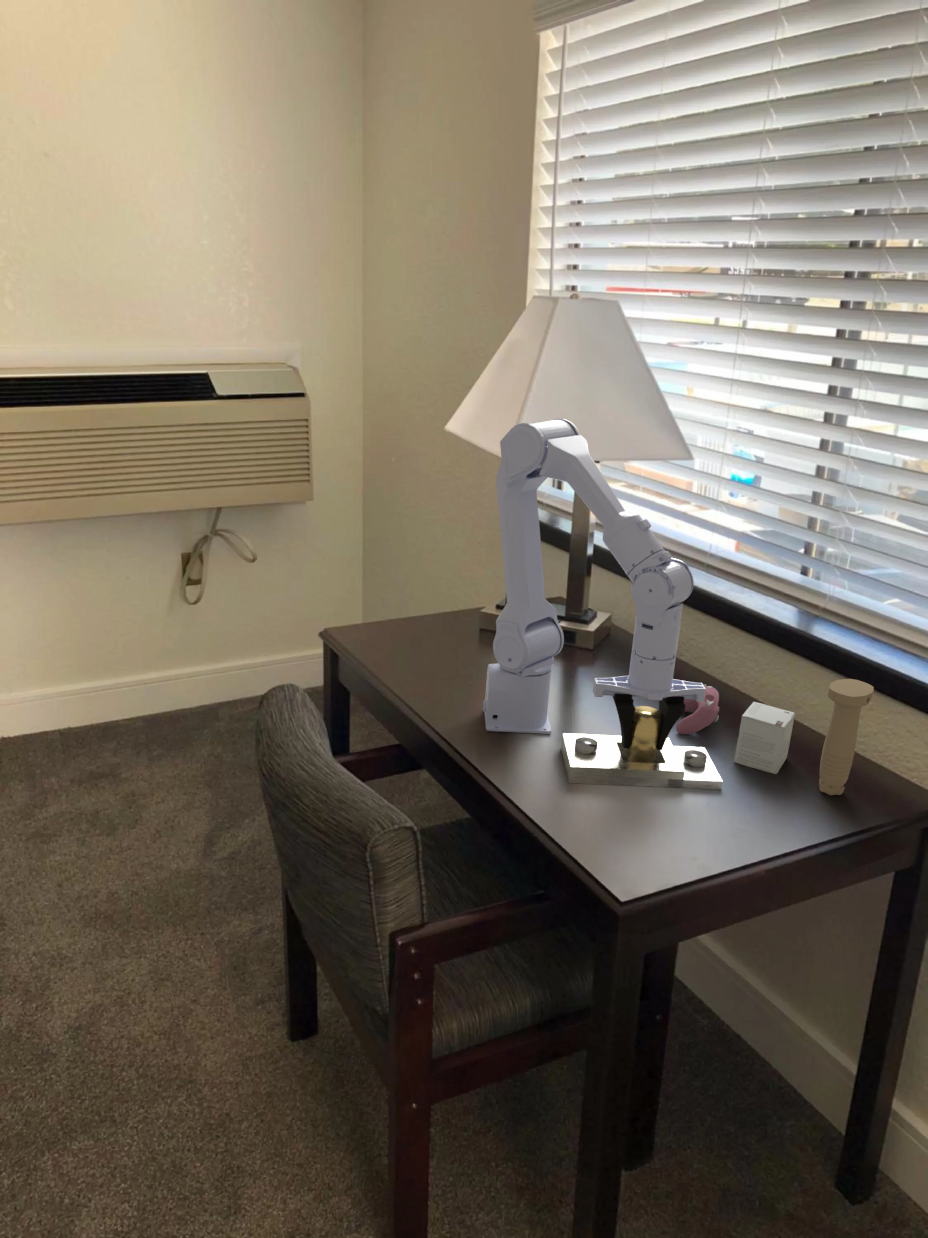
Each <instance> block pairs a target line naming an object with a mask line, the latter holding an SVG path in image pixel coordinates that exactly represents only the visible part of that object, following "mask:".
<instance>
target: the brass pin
mask: <svg viewBox="0 0 928 1238" xmlns="http://www.w3.org/2000/svg"><path fill="white" fill-rule="evenodd" d="M634 707H635V713H634V716H633V721H632V726H631V737H630V746H629V749H627V748H626V756H625V758H624V759H625V760H626V762H640V763H656V759H655V758H656V751H657V744H658V737H659V730H660V723H661V716H662V713H661V712H660V711H659V709H658V708H654V707H652V706H647V705H637V706H634Z"/></svg>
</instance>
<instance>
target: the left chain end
mask: <svg viewBox="0 0 928 1238" xmlns="http://www.w3.org/2000/svg"><path fill="white" fill-rule="evenodd" d="M561 734H562V735H561V745H560V750H561V754H562V758H563V759H562V760H563V762H564V763H563V764H564V767H565V772H566V775H567V780H568V783H569V784H582V785H583V784H585V785H586V784H589V785H609V776H610V777H633V778H656V779H679V780H684V774H685V771H684V769H683V767H682V764H681V762H680V760H679V758H678V756H677V754H676V752H675V750H674V747H673V746H674V745H673V744H672V741H671V740H670V739H671V738H670V737H667V739H666V741H665V744H664V746H663V750H657V751H656V752H657V754H658V756H659V758H660V760H661V763H657V762H655V763H640V762H628V761H624V760H623V758H622V757H621V754H620V752H619V750H626V748H623V745H622V742H621V735H615V734H614V735H611V734H589V733H570V732H569V733H566V732H564V733H561Z"/></svg>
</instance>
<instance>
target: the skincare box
mask: <svg viewBox="0 0 928 1238" xmlns="http://www.w3.org/2000/svg"><path fill="white" fill-rule="evenodd" d="M795 715H796V713H795V712H793V711H790V710H786V709H781V708H779V707H775V706H771V705H769V704H764V703H760V702H758V701H752V703H751V704H750V705H749V706H748V707H747V708H746V710H745V711H744V713H742V715H741V720H740V725H739V730H738V736H737V740H736V746H735V752H734V758H733V762H734V763H736V764H739V765H742V766H745V767H749V768H753V769H757V770H760V771H763V772H767V773H770V774H773V775H777V774H778V773H779V771H780V769H781V768H782V766H783V765H784V763H785V761H787V760H786V759H787V758H788V754H789V747H790V744H791V737H792V731H793V727H794V726H793V725H794V720H795Z"/></svg>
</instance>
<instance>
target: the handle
mask: <svg viewBox="0 0 928 1238" xmlns="http://www.w3.org/2000/svg"><path fill="white" fill-rule="evenodd" d="M874 689H875V688H874V686H873V685H871V684H869V683H867V682H865V681H861V680H859V679H853V678H841V679H837V680H834V681H832V682H831V683H829V688H828V694H827V696H828V699H830V700H831V701H832V702H834V704H833V709H832V713H831V716H830V720H829V724H828V727H827V732H826V736H825V739H824V743H823V747H822V751H821V756H820V764H819V773H818V774H819V779H818V786H819V791H820V792H821V793H825V794H827V795H829V796H834V795H835V796H836V795H837V796H840V795H842V794H843V793H844V790H845V788H846V786H844V785H845V784H846V783H847V781H848V780H849V777H850V776H849V775H850V773H851V768H852V765H853V763H854V762H853V761H854V757H855V752H856V743H857V738H858V729H859V723H860V718H861V717H860V716H861V713H862V707H865V706H867V705H869V704H870V703H871V701H872V699H873V694H874Z"/></svg>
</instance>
